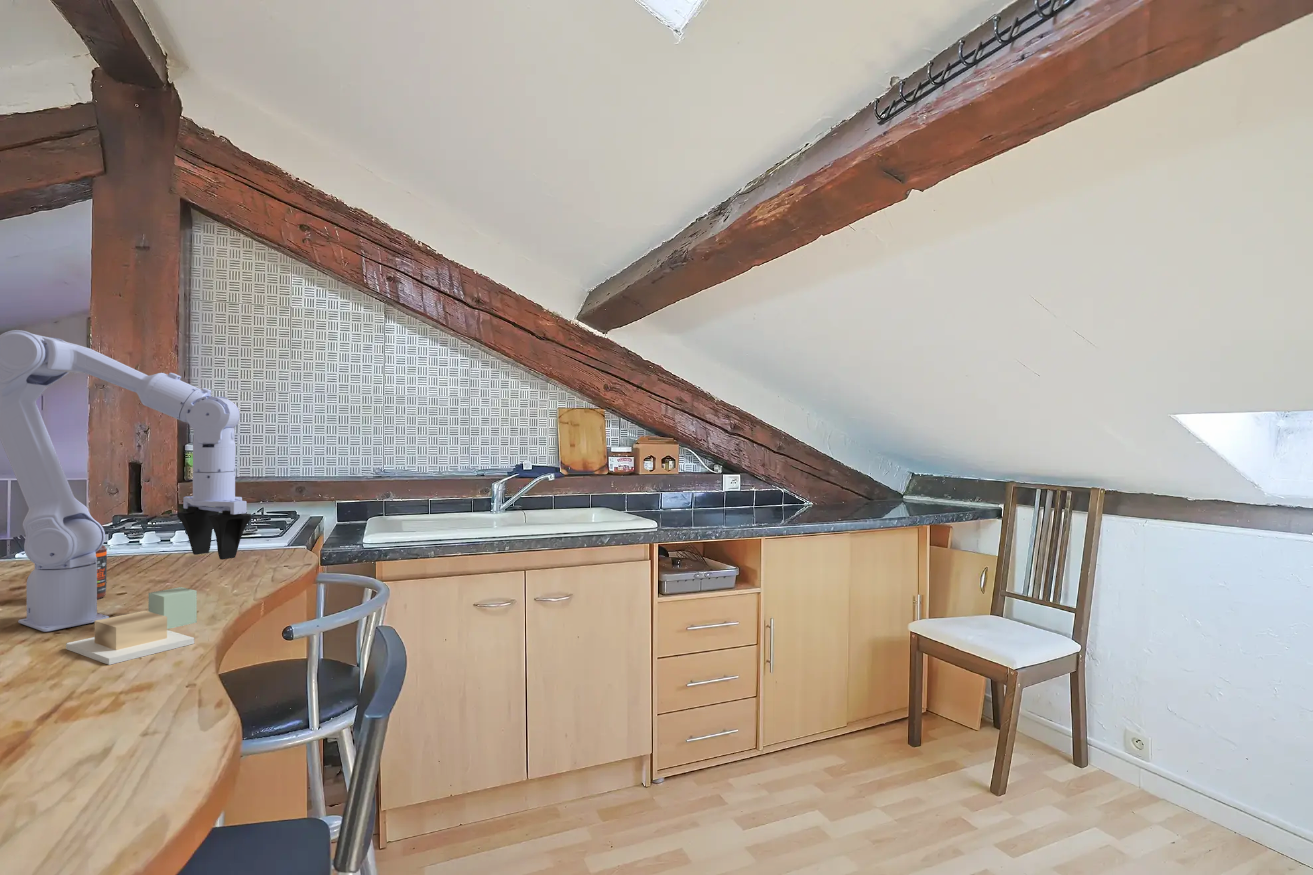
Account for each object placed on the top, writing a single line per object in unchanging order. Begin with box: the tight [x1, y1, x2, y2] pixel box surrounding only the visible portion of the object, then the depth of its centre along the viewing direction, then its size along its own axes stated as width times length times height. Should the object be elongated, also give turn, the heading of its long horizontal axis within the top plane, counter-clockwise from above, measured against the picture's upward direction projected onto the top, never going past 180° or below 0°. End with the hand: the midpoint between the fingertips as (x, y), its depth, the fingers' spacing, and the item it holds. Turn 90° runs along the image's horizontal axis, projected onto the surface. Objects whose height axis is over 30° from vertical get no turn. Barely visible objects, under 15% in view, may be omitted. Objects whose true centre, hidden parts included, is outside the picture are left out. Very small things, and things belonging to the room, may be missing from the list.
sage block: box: [148, 586, 198, 630], centre depth 104 cm, size 4×4×5 cm
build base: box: [65, 610, 195, 666], centre depth 93 cm, size 12×10×4 cm
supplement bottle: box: [96, 544, 108, 600], centre depth 118 cm, size 6×6×11 cm
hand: (214, 556), depth 109 cm, fingers open, 7 cm apart
